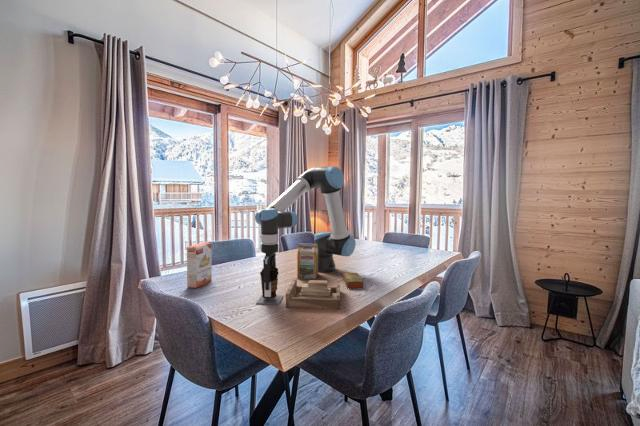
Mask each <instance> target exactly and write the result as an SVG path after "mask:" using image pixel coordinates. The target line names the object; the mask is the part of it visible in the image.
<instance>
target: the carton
mask: <svg viewBox="0 0 640 426" xmlns="http://www.w3.org/2000/svg"><path fill="white" fill-rule="evenodd" d="M342 275H343V276H342V280H343V283H344V282H345V283H344V284H345V288H346V287H347V288H346V289H347V290H353V289H352V288H363V289H364V281H363V280H362V278H361V276H360V275H359V274H358V272H343V273H342ZM348 288H349V289H348ZM350 288H351V289H350Z"/></svg>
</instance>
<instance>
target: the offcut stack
mask: <svg viewBox="0 0 640 426" xmlns="http://www.w3.org/2000/svg"><path fill="white" fill-rule="evenodd" d="M301 286H302V290H301V291H300V295H301V296H317V297H318V296H319V297H321V296H322V297H323V296H325V297H326V296H327V297H331V294H332V292H331V288H328V287H329V284H328V280H317V279H308V282H307V283H303V284H302V285H301Z"/></svg>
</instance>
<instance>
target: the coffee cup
mask: <svg viewBox="0 0 640 426" xmlns="http://www.w3.org/2000/svg"><path fill="white" fill-rule="evenodd" d="M259 275H260V281H261V293H262V294H261V295H263V298H265V299H272V298H275V297H276V296H277V295H278V294H277V290H278V283H279V278H278V275H279V268H278V267H277V266H276V267H271V274H270V276H271V278H270V282H271V297H265V293H264V282H262V281H263V268H262V270H261V271H260V272H259ZM266 280H267V279H266Z"/></svg>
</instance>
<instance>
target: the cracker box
mask: <svg viewBox="0 0 640 426" xmlns="http://www.w3.org/2000/svg"><path fill="white" fill-rule="evenodd" d="M212 269H213V268H212V243H211V242H200V243H197V244H194V245H190V246H187V247H186V270H187V271H186V278H187V279H186V281H187V282H186V283H187V284H186V287H187V288H190V289H197V288H200V287H201V286H203V285H206V284H207V283H210V282H212V280H213V279H212V278H213V277H212V273H213V272H212V271H213V270H212Z"/></svg>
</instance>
